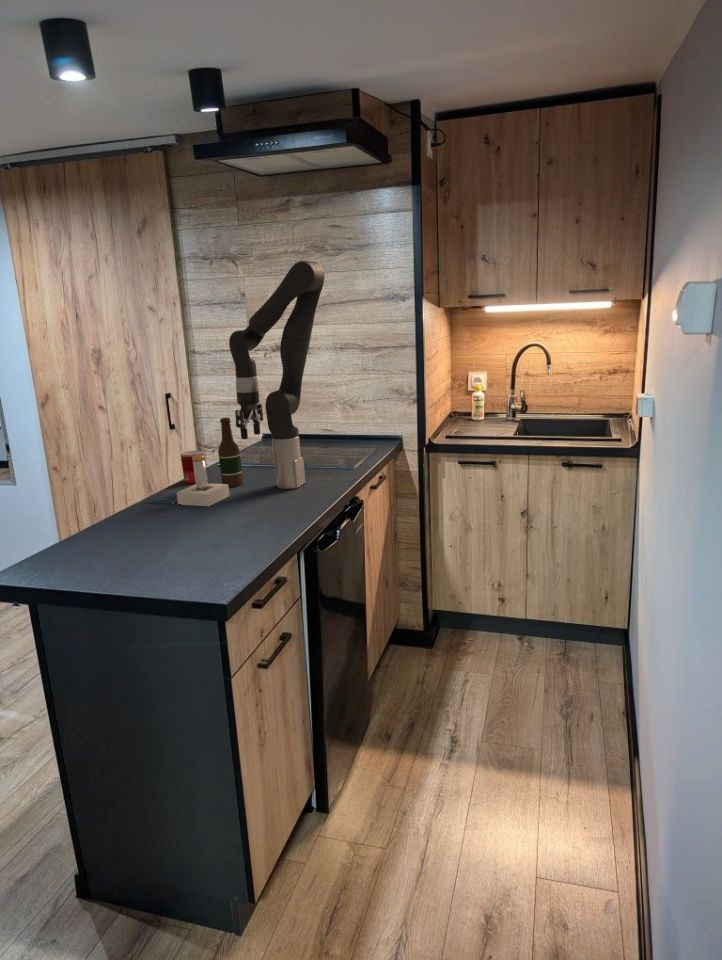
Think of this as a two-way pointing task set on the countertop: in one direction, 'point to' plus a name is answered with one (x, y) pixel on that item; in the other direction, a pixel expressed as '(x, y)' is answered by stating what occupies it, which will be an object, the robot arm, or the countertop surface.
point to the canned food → (189, 465)
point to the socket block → (203, 495)
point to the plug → (200, 472)
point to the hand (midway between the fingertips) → (251, 436)
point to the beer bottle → (229, 457)
